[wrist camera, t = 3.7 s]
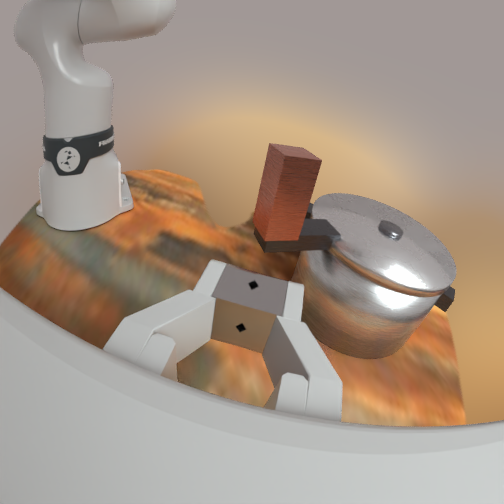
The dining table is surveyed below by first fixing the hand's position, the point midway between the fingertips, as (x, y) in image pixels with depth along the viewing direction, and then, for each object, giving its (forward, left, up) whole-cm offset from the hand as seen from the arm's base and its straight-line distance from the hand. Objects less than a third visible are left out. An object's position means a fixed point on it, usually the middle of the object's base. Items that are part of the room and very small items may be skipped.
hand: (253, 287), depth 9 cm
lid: (-12, +18, -7) cm, 23 cm away
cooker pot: (-14, +20, -17) cm, 30 cm away
